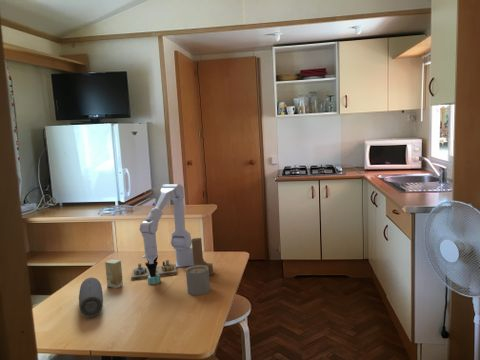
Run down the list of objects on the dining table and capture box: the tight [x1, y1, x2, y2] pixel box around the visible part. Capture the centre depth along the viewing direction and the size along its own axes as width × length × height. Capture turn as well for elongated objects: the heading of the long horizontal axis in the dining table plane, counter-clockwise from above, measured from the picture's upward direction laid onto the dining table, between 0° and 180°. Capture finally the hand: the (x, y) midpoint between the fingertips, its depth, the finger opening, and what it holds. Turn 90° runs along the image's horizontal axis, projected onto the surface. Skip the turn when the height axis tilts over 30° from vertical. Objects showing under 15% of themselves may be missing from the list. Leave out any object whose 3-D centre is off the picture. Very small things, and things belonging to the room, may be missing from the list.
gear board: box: [130, 259, 178, 281], centre depth 202 cm, size 22×11×6 cm, turn 101°
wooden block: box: [191, 237, 214, 276], centre depth 195 cm, size 9×4×18 cm, turn 95°
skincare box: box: [104, 258, 124, 289], centre depth 189 cm, size 6×4×12 cm
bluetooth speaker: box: [78, 277, 104, 318], centre depth 166 cm, size 23×9×10 cm, turn 21°
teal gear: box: [146, 274, 161, 285], centre depth 191 cm, size 6×6×3 cm
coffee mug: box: [185, 265, 211, 296], centre depth 178 cm, size 13×10×10 cm
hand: (153, 273), depth 190 cm, fingers open, 7 cm apart
